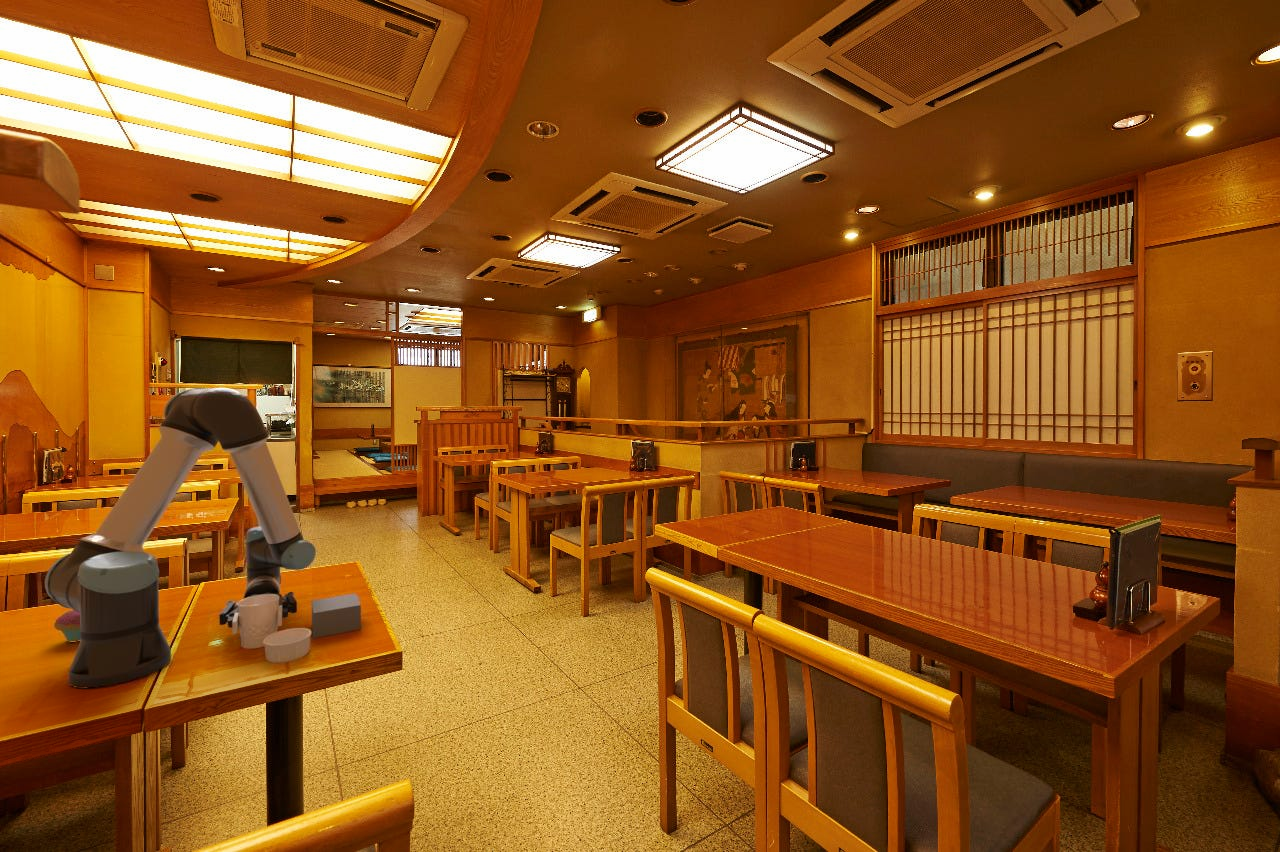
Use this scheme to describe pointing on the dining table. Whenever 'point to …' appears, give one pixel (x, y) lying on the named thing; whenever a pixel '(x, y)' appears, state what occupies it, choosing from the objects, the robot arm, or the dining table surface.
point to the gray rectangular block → (336, 615)
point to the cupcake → (69, 625)
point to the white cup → (257, 619)
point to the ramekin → (287, 645)
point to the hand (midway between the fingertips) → (257, 623)
